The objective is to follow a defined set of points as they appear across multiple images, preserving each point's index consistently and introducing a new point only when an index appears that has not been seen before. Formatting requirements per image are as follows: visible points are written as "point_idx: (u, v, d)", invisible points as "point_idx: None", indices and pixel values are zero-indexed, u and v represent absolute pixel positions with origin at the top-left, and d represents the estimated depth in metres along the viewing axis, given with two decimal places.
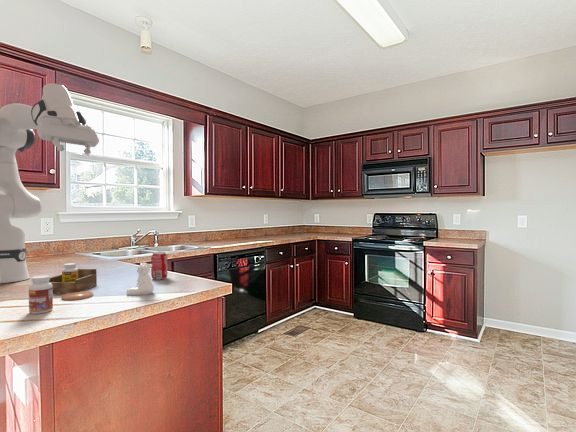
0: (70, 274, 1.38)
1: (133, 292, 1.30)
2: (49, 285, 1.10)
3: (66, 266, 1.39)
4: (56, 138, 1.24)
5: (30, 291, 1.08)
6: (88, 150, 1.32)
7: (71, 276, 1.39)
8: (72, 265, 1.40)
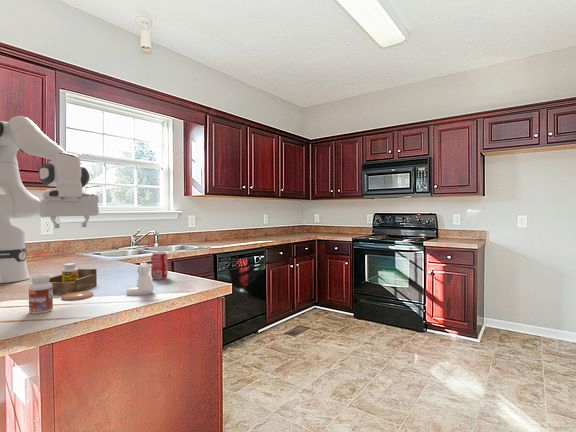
0: (70, 274, 1.38)
1: (133, 292, 1.30)
2: (49, 285, 1.10)
3: (66, 266, 1.39)
4: (54, 217, 1.34)
5: (30, 291, 1.08)
6: (84, 225, 1.42)
7: (71, 276, 1.39)
8: (72, 265, 1.40)
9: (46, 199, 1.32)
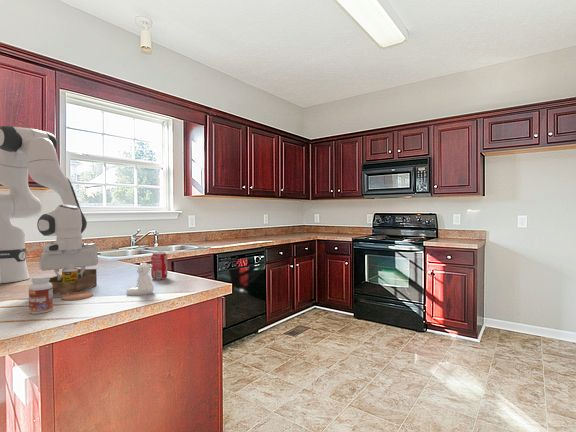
0: (70, 274, 1.38)
1: (133, 292, 1.30)
2: (49, 285, 1.10)
3: None
4: (57, 270, 1.37)
5: (30, 291, 1.08)
6: (80, 276, 1.42)
7: (71, 275, 1.39)
8: (72, 265, 1.40)
9: (46, 253, 1.33)
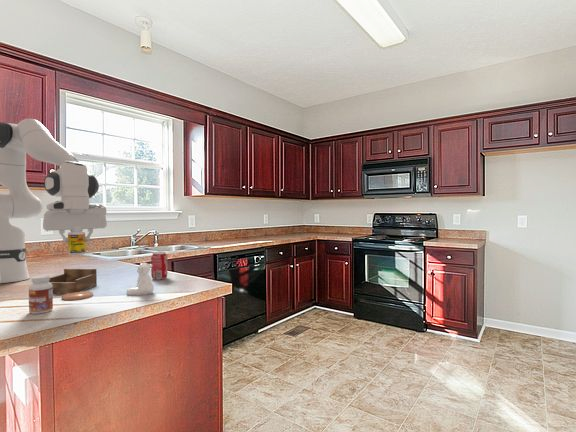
0: (76, 237, 1.27)
1: (133, 292, 1.30)
2: (49, 285, 1.10)
3: None
4: (62, 231, 1.26)
5: (30, 291, 1.08)
6: (87, 239, 1.31)
7: (78, 239, 1.27)
8: (79, 227, 1.28)
9: (50, 212, 1.22)
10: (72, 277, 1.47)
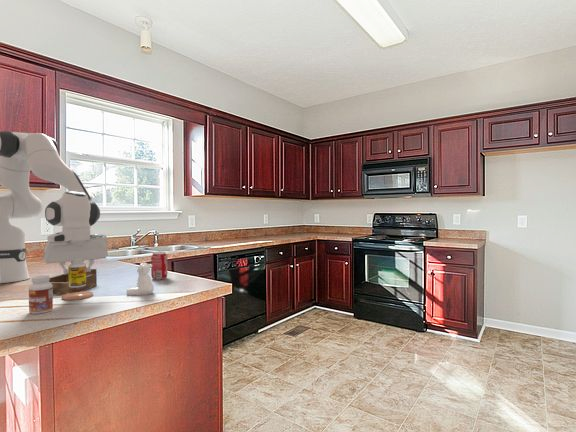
0: (77, 270, 1.26)
1: (133, 292, 1.30)
2: (49, 285, 1.10)
3: (73, 261, 1.26)
4: (63, 263, 1.24)
5: (30, 291, 1.08)
6: (88, 269, 1.30)
7: (79, 272, 1.26)
8: (80, 260, 1.27)
9: (51, 244, 1.21)
10: None
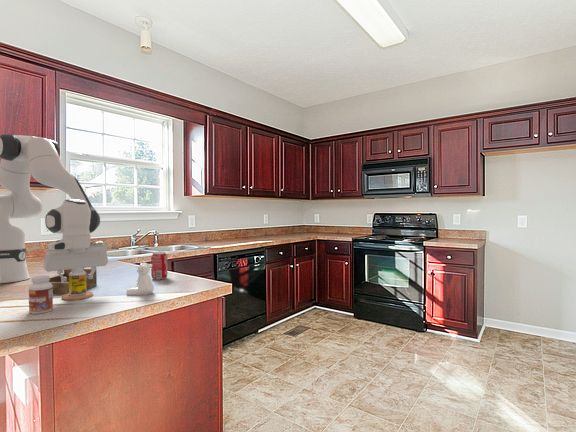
0: (77, 278, 1.26)
1: (133, 292, 1.30)
2: (49, 285, 1.10)
3: (73, 269, 1.26)
4: (60, 271, 1.24)
5: (30, 291, 1.08)
6: (90, 277, 1.31)
7: (79, 280, 1.26)
8: (80, 268, 1.27)
9: (51, 253, 1.21)
10: None
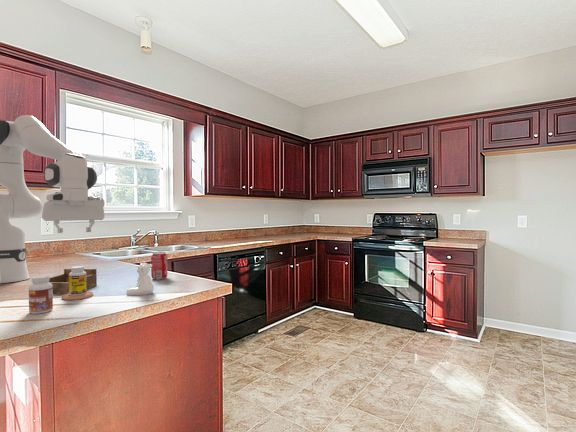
0: (77, 278, 1.26)
1: (133, 292, 1.30)
2: (49, 285, 1.10)
3: (73, 269, 1.26)
4: (57, 222, 1.28)
5: (30, 291, 1.08)
6: (89, 229, 1.36)
7: (79, 280, 1.26)
8: (80, 268, 1.27)
9: (50, 203, 1.25)
10: None
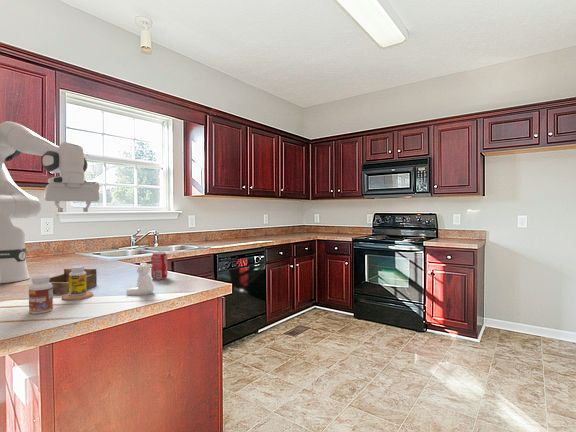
0: (77, 278, 1.26)
1: (133, 292, 1.30)
2: (49, 285, 1.10)
3: (73, 269, 1.26)
4: (57, 202, 1.45)
5: (30, 291, 1.08)
6: (86, 210, 1.53)
7: (79, 280, 1.26)
8: (80, 268, 1.27)
9: (51, 185, 1.43)
10: None
